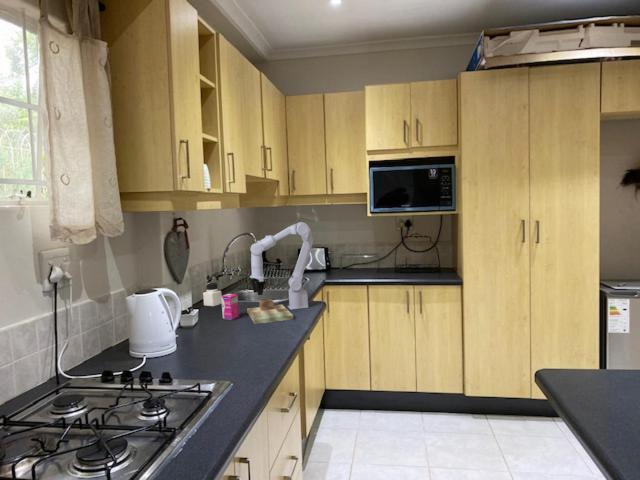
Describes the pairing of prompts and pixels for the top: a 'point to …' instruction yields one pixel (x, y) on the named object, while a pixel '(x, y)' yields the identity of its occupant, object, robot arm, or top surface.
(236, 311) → the supplement box
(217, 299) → the medicine bottle
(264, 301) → the walnut block
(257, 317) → the trap deck
